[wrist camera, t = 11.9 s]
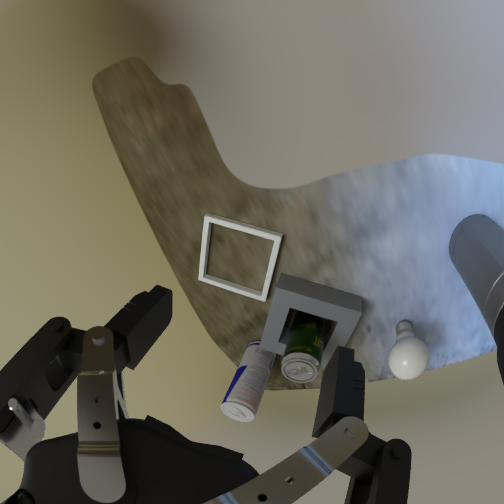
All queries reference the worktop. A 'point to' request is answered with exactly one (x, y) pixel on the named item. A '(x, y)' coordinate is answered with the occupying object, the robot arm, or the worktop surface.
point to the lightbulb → (407, 354)
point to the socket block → (313, 302)
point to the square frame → (245, 228)
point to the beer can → (304, 348)
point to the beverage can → (248, 383)
